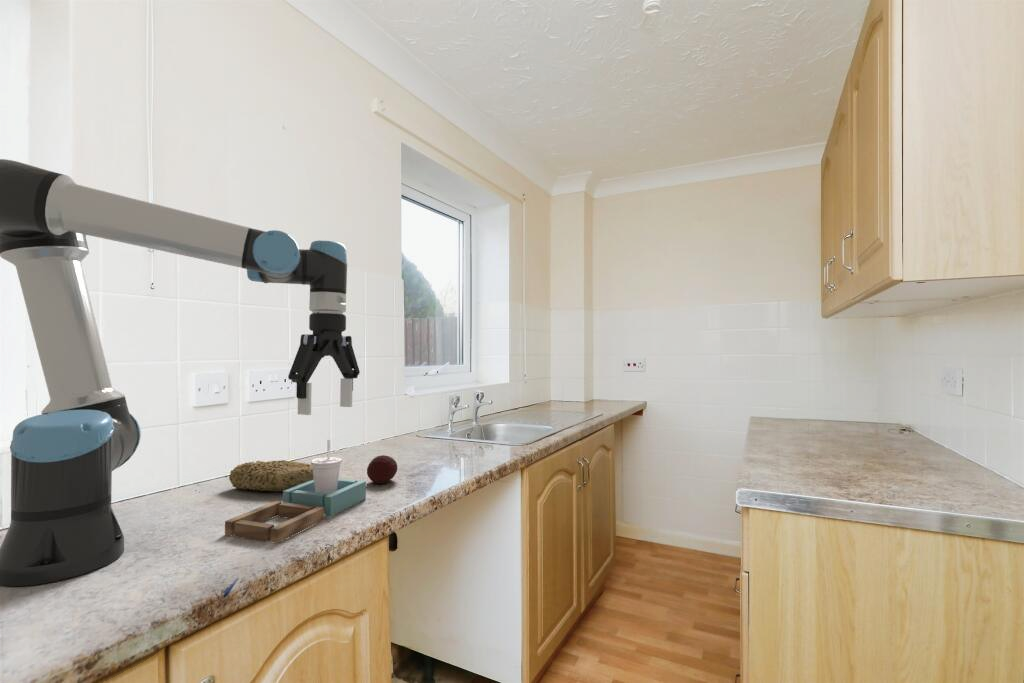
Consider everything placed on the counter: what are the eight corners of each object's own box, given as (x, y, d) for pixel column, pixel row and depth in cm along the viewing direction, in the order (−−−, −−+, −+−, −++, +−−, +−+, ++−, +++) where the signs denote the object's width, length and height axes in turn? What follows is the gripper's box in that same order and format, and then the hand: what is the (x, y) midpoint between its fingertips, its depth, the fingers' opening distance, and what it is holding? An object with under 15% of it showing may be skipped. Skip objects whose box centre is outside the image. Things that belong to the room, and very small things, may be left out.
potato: (401, 478, 127) (401, 451, 127) (391, 487, 118) (391, 458, 119) (374, 477, 127) (374, 450, 128) (362, 486, 119) (362, 458, 119)
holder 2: (330, 516, 98) (330, 496, 98) (282, 510, 102) (283, 491, 102) (365, 498, 109) (365, 481, 109) (321, 493, 113) (321, 476, 113)
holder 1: (277, 543, 85) (277, 529, 85) (224, 534, 88) (225, 521, 88) (324, 520, 96) (324, 507, 96) (275, 513, 100) (275, 501, 100)
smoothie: (347, 503, 106) (348, 439, 107) (322, 511, 101) (323, 444, 101) (328, 498, 110) (329, 436, 110) (303, 505, 104) (304, 440, 105)
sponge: (223, 498, 113) (285, 490, 106) (224, 464, 115) (286, 453, 108) (270, 493, 125) (330, 485, 118) (270, 462, 127) (329, 453, 120)
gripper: (301, 308, 93) (299, 419, 93) (375, 316, 117) (374, 404, 116) (269, 309, 95) (267, 417, 95) (349, 316, 119) (347, 403, 119)
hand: (326, 410), depth 106 cm, fingers open, 13 cm apart
